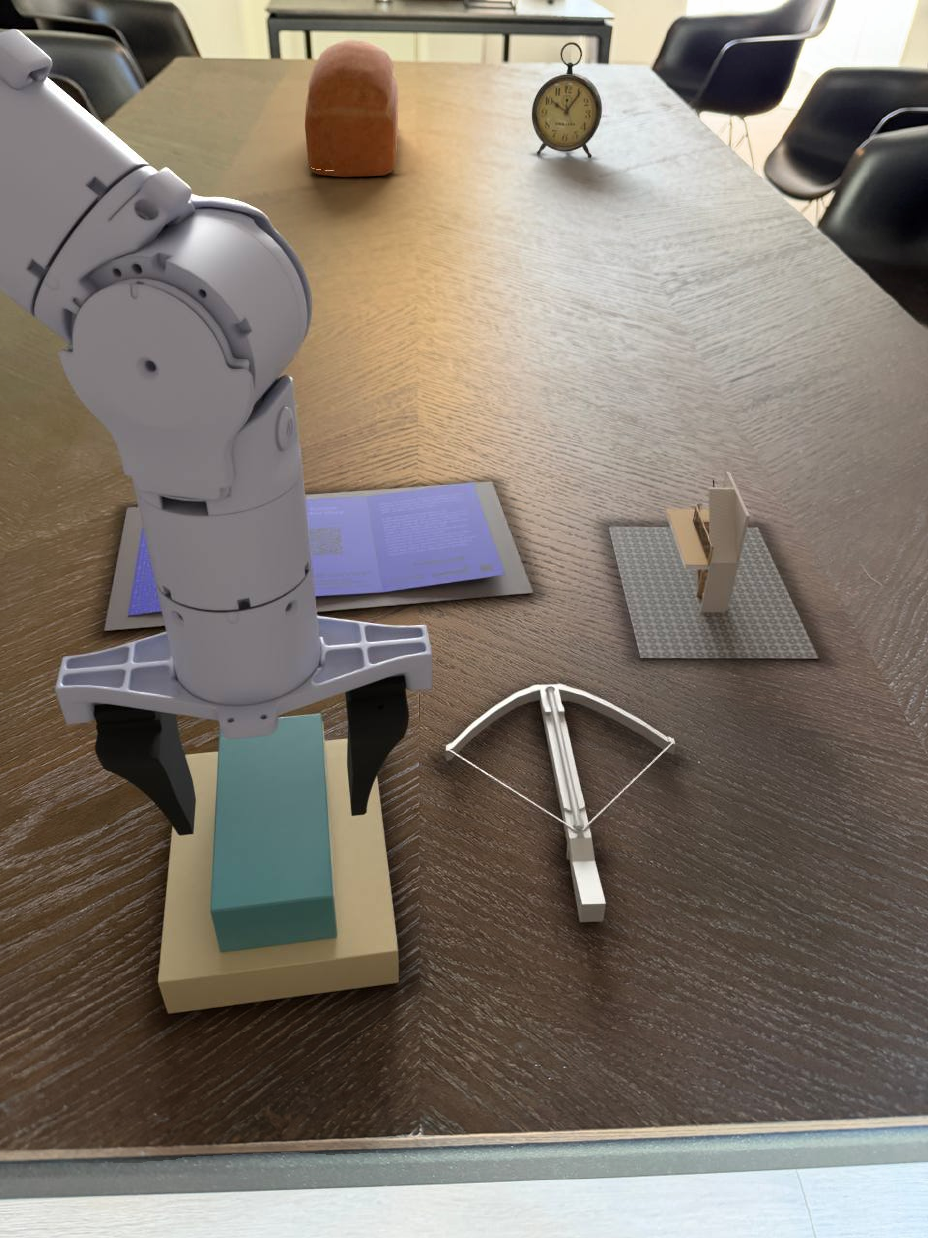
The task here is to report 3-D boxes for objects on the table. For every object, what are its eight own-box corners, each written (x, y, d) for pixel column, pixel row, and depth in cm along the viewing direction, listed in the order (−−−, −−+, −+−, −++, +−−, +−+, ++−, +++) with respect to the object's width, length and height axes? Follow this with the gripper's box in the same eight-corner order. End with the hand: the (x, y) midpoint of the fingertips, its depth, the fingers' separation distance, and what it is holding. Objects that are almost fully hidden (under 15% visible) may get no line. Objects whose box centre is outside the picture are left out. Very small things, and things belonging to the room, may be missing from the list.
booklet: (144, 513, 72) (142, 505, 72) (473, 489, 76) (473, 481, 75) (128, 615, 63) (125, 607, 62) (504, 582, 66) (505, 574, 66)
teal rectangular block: (219, 953, 41) (209, 911, 39) (227, 764, 50) (219, 722, 48) (338, 938, 42) (334, 896, 40) (326, 754, 50) (322, 712, 49)
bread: (305, 177, 146) (296, 60, 137) (321, 128, 172) (314, 26, 162) (396, 178, 147) (394, 61, 137) (399, 129, 172) (397, 27, 163)
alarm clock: (528, 156, 159) (535, 42, 149) (534, 148, 163) (540, 37, 153) (595, 161, 157) (606, 46, 147) (599, 153, 161) (610, 41, 151)
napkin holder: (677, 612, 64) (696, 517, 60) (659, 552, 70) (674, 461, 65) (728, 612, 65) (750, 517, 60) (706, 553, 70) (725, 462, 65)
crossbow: (441, 707, 58) (441, 680, 57) (649, 701, 59) (653, 674, 58) (456, 929, 45) (456, 900, 44) (723, 918, 46) (731, 889, 44)
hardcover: (167, 1014, 42) (157, 982, 40) (186, 787, 52) (178, 755, 50) (399, 983, 43) (398, 951, 42) (374, 767, 53) (372, 735, 52)
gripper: (5, 652, 32) (96, 901, 40) (443, 614, 34) (442, 859, 42) (43, 534, 37) (116, 775, 46) (418, 507, 39) (422, 743, 48)
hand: (273, 808), depth 44 cm, fingers open, 7 cm apart
